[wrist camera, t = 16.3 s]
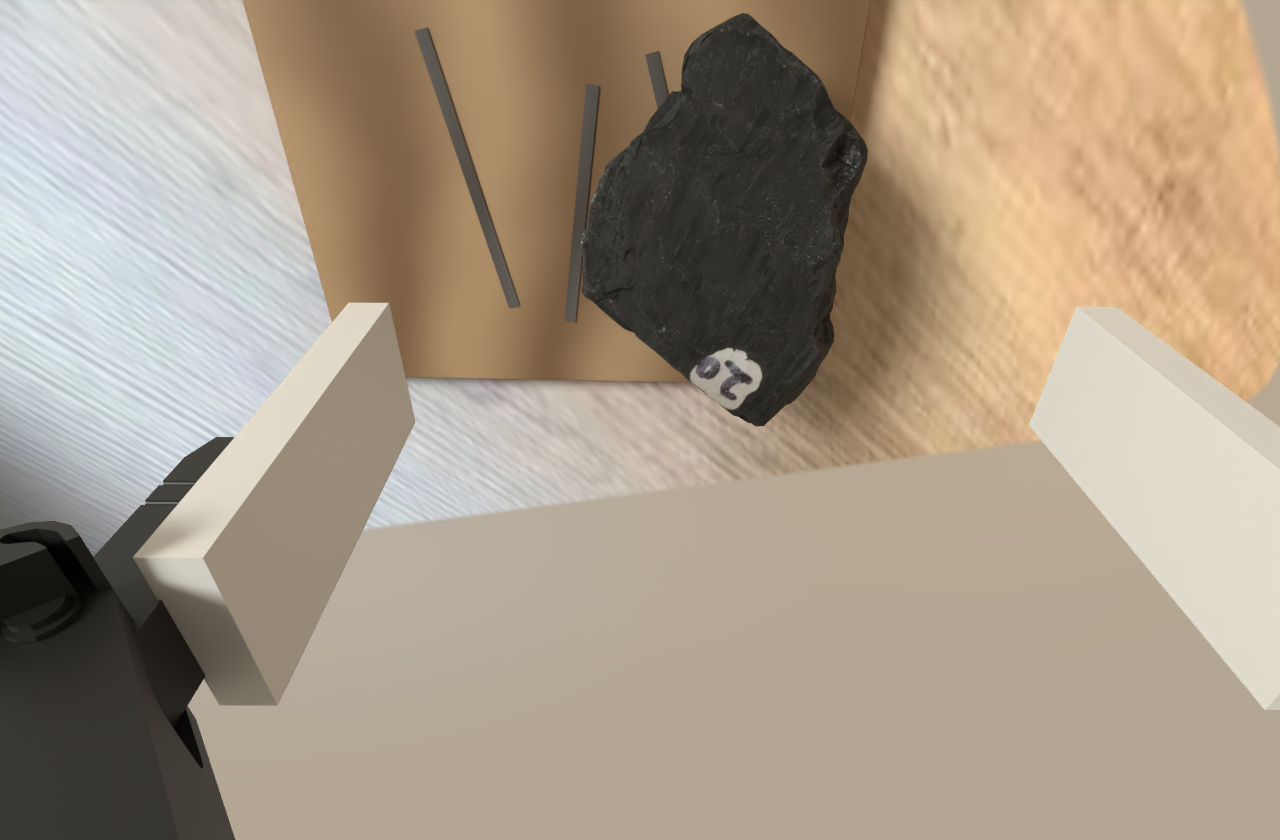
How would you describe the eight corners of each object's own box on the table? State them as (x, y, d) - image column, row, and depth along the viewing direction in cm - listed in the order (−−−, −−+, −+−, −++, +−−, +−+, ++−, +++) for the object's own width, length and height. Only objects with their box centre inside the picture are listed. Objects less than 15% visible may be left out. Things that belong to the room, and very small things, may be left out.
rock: (764, 391, 26) (790, 486, 22) (542, 237, 23) (514, 309, 18) (946, 205, 22) (1030, 271, 18) (710, -12, 19) (732, -6, 14)
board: (358, 360, 28) (346, 376, 27) (248, -59, 20) (224, -60, 19) (800, 368, 27) (806, 384, 26) (868, -56, 19) (880, -56, 18)
